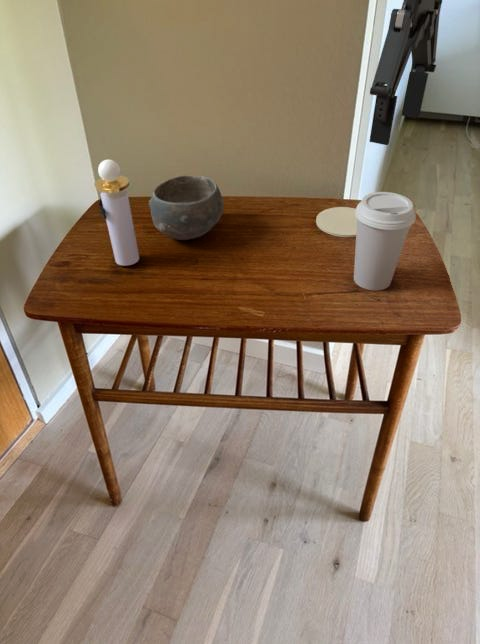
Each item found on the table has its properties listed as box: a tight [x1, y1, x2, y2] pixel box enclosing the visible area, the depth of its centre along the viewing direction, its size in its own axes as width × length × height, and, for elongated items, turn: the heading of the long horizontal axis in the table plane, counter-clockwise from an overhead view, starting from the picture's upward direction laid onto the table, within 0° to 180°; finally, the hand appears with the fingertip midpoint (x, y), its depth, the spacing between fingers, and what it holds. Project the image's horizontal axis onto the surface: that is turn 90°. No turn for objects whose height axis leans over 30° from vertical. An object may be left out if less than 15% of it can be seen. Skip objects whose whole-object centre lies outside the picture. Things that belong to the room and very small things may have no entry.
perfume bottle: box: [94, 158, 140, 267], centre depth 86 cm, size 6×6×20 cm
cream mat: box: [315, 206, 357, 239], centre depth 102 cm, size 12×12×1 cm
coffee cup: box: [353, 191, 417, 292], centre depth 81 cm, size 10×10×15 cm
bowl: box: [148, 174, 225, 241], centre depth 97 cm, size 14×15×10 cm
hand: (395, 129), depth 75 cm, fingers open, 13 cm apart
